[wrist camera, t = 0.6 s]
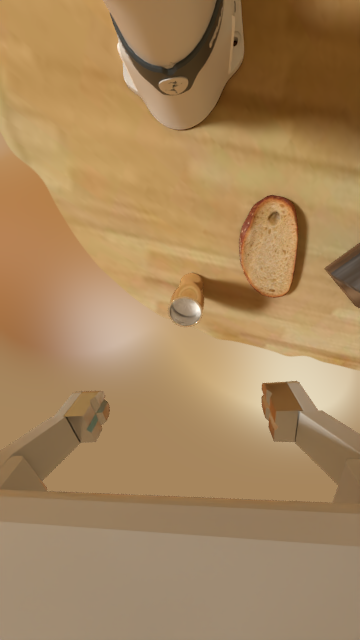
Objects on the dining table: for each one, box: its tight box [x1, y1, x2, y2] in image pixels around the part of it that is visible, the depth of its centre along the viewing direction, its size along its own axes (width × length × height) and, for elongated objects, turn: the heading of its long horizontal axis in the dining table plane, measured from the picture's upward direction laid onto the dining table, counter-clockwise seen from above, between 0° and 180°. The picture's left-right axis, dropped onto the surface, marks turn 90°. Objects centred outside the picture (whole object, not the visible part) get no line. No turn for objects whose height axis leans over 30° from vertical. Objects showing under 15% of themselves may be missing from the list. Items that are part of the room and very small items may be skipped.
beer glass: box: [168, 273, 204, 327], centre depth 42 cm, size 7×7×15 cm
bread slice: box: [239, 195, 298, 298], centre depth 41 cm, size 18×18×4 cm
